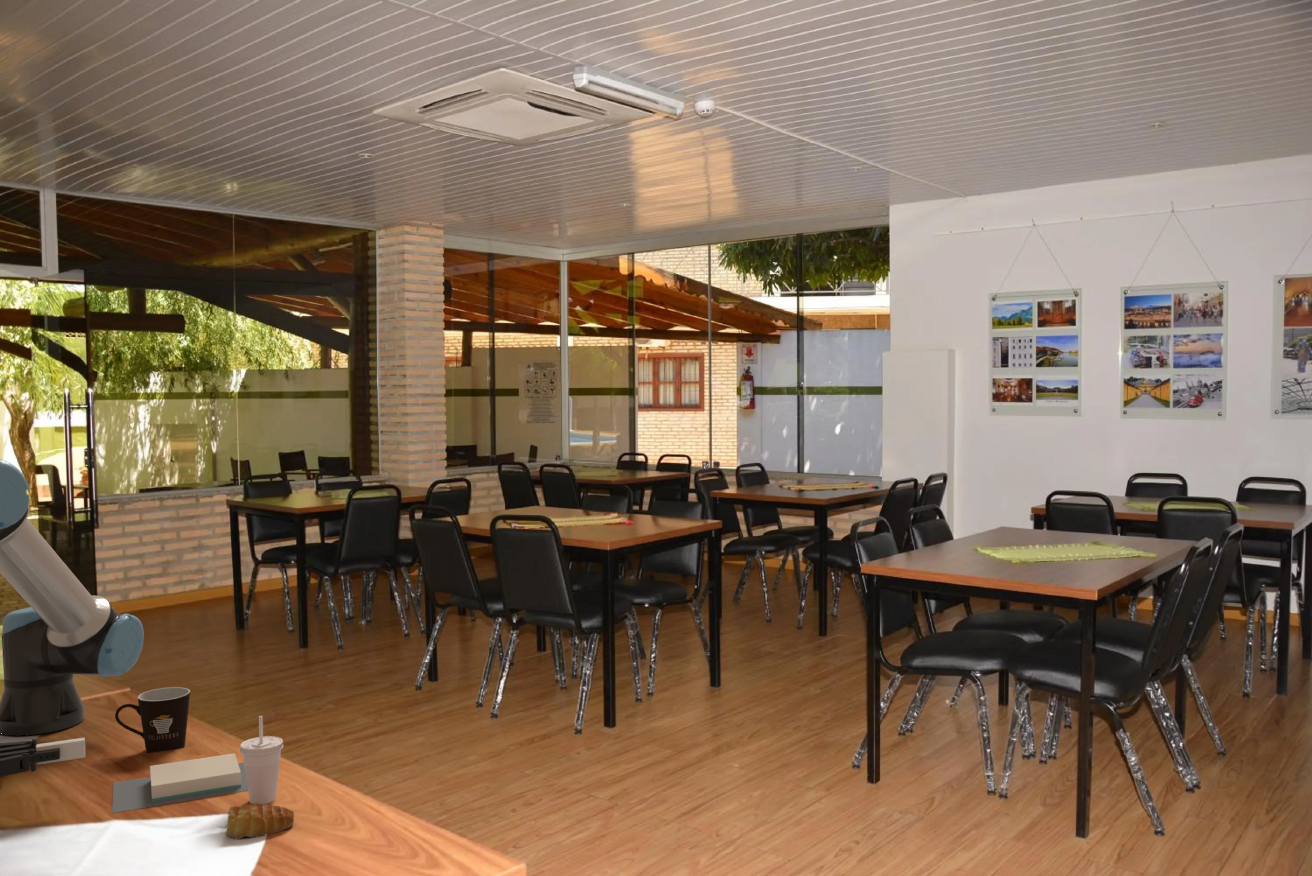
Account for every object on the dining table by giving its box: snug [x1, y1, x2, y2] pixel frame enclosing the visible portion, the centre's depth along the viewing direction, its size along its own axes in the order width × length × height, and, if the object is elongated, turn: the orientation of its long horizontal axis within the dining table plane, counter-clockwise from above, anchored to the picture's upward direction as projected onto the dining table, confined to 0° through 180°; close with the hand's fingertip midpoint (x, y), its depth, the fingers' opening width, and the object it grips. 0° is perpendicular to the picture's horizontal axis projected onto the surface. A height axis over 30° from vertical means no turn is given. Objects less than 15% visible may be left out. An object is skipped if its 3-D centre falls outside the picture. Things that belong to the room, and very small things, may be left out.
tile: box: [149, 752, 241, 802], centre depth 169 cm, size 10×2×13 cm
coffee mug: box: [114, 686, 191, 754], centre depth 188 cm, size 12×9×10 cm
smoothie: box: [239, 715, 284, 805], centre depth 163 cm, size 6×6×14 cm
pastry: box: [225, 803, 295, 839], centre depth 153 cm, size 9×7×4 cm
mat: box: [111, 762, 248, 814], centre depth 169 cm, size 14×20×1 cm
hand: (84, 747), depth 162 cm, fingers closed
